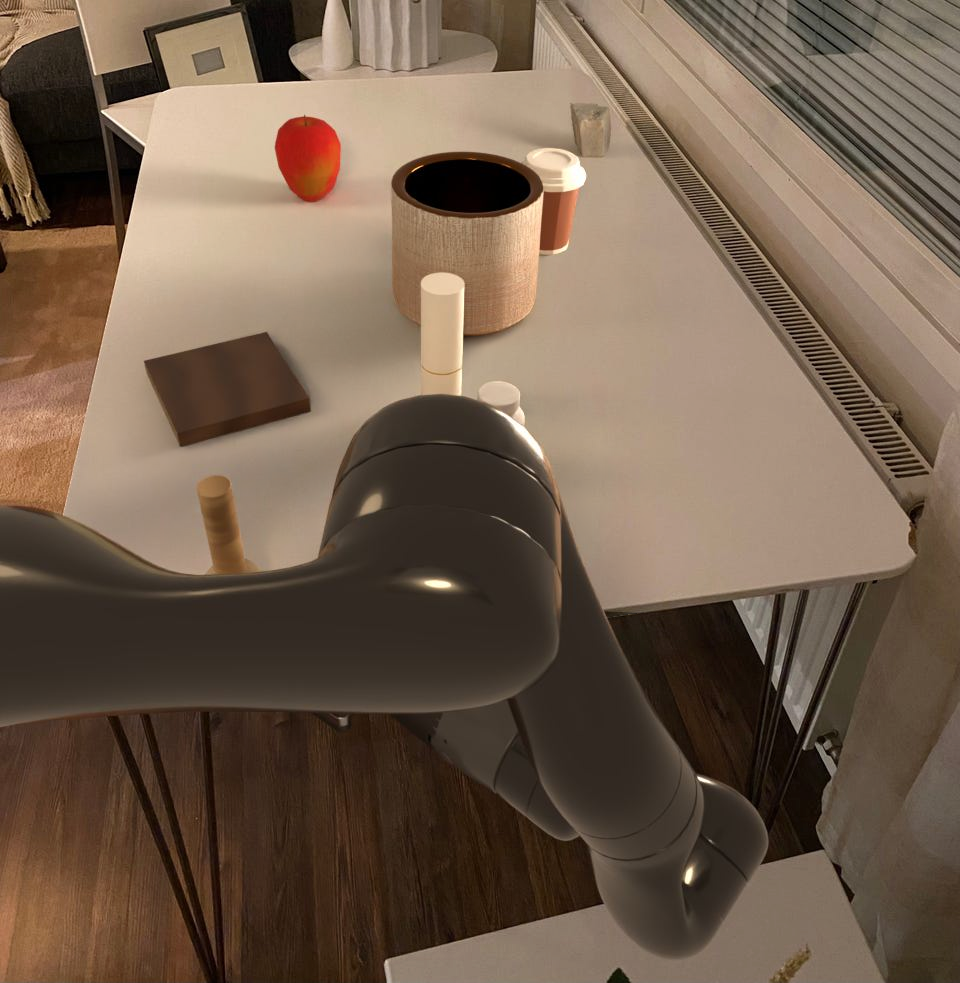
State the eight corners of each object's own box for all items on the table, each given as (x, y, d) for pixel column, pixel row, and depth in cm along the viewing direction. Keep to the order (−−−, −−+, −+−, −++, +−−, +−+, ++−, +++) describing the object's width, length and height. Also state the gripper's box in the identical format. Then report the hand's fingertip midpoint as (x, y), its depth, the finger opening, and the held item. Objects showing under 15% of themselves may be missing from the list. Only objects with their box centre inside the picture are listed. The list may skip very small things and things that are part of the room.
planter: (436, 356, 112) (437, 231, 101) (368, 285, 123) (363, 166, 112) (562, 318, 119) (576, 197, 108) (488, 254, 130) (493, 139, 119)
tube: (447, 423, 102) (449, 299, 92) (413, 409, 104) (412, 286, 94) (468, 402, 105) (472, 280, 95) (435, 389, 107) (436, 268, 97)
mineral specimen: (554, 140, 157) (569, 90, 152) (604, 151, 159) (620, 102, 154) (562, 157, 152) (578, 106, 147) (613, 168, 154) (630, 118, 149)
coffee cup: (588, 238, 134) (598, 153, 126) (561, 266, 128) (570, 179, 120) (528, 222, 137) (535, 138, 129) (500, 248, 131) (505, 163, 123)
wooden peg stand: (216, 626, 81) (191, 514, 72) (200, 588, 84) (174, 476, 75) (271, 607, 83) (253, 495, 74) (254, 570, 86) (234, 459, 77)
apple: (356, 197, 141) (352, 115, 133) (308, 217, 136) (300, 132, 128) (315, 177, 145) (309, 96, 137) (267, 195, 140) (257, 112, 132)
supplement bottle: (520, 491, 95) (527, 411, 88) (465, 488, 95) (468, 409, 88) (520, 455, 99) (526, 377, 92) (467, 453, 99) (470, 374, 92)
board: (180, 447, 98) (177, 433, 97) (146, 373, 107) (143, 360, 106) (311, 411, 103) (309, 397, 102) (268, 344, 112) (266, 331, 111)
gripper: (543, 613, 67) (376, 504, 74) (400, 747, 58) (228, 610, 66) (535, 679, 72) (380, 571, 79) (402, 811, 64) (243, 677, 71)
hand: (311, 589), depth 73 cm, fingers open, 8 cm apart
